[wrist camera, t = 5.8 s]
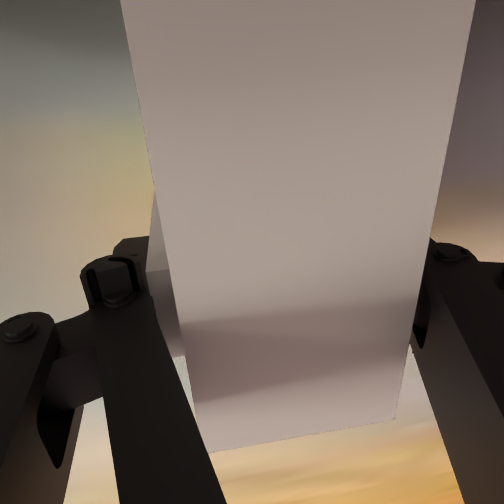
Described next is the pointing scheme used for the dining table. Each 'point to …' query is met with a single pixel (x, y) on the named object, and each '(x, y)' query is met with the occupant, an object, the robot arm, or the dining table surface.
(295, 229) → the grey rectangular block
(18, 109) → the dining table surface
